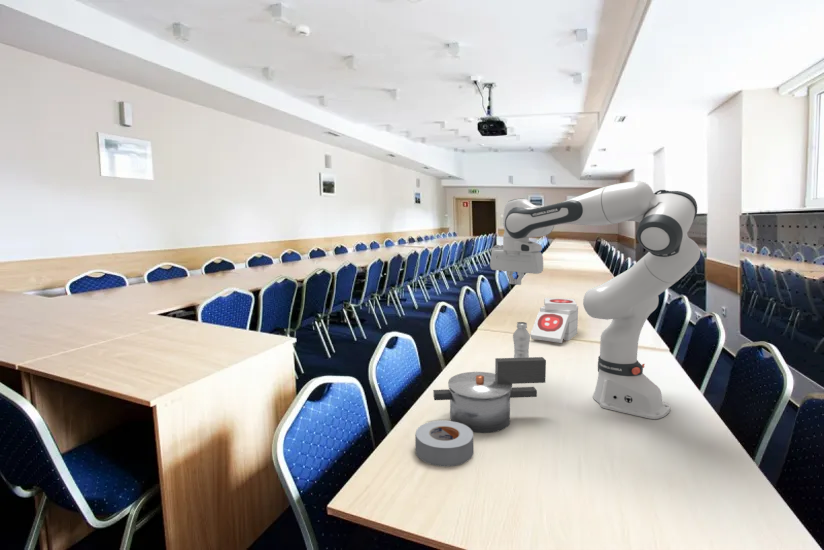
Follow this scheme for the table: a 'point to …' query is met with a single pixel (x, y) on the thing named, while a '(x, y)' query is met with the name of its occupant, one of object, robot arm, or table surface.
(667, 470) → the table surface
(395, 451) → the table surface
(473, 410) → the cooker pot
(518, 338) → the plastic bottle
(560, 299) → the pizza boxes
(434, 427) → the tape roll
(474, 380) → the lid
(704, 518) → the table surface
